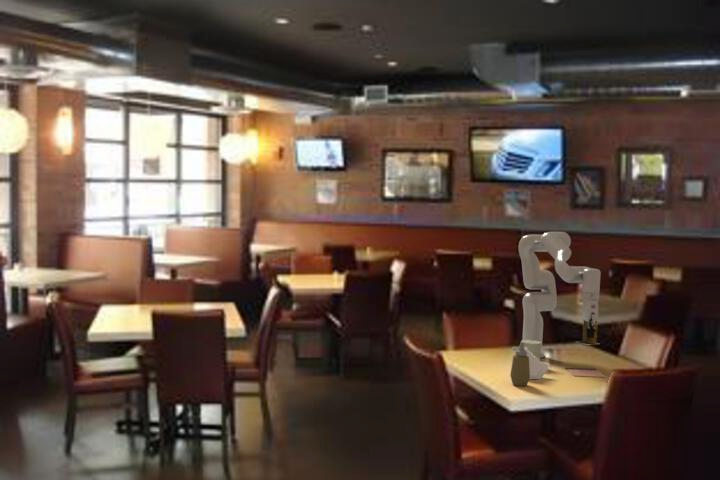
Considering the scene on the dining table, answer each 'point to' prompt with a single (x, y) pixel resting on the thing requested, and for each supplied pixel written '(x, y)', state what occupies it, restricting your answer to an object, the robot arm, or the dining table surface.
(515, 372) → the squeeze bottle
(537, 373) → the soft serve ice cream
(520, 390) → the dining table surface
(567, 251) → the robot arm
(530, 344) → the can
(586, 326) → the condiment
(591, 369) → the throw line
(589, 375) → the mat
